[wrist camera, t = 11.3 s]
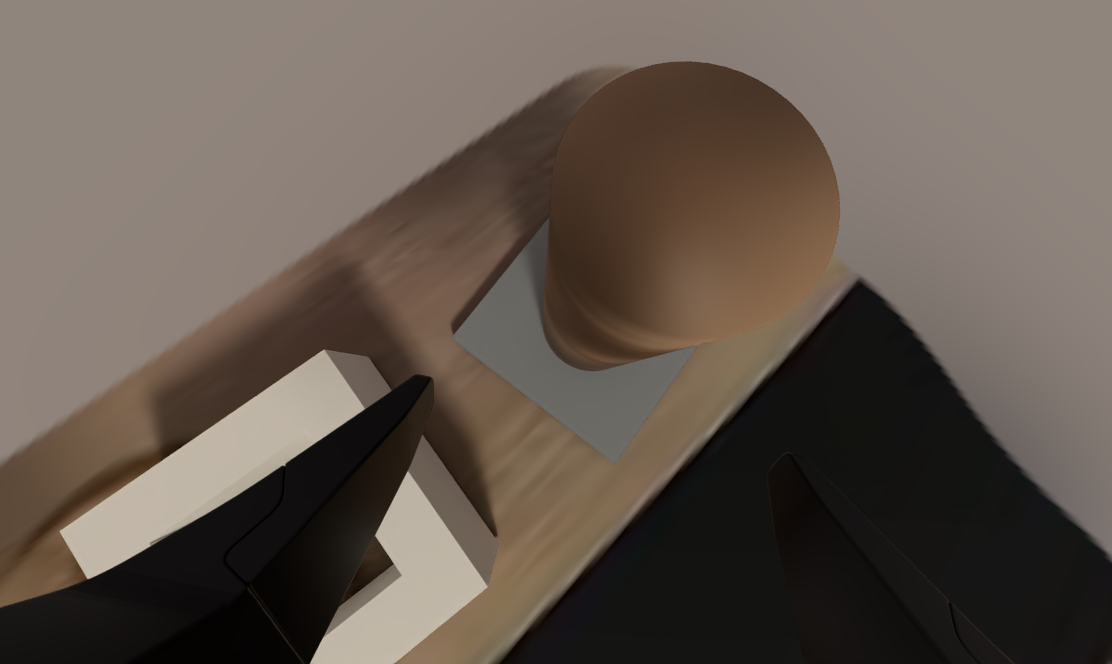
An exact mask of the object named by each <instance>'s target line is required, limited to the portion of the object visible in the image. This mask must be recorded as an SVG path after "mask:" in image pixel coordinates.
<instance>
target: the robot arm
mask: <svg viewBox="0 0 1112 664" xmlns="http://www.w3.org/2000/svg"><path fill="white" fill-rule="evenodd" d="M433 402H434V382H433V378H431V377H429V376H424V375H419V374H417V375H414V376H413V377H411V378H410V379H408V380H407V381H405V382H404V383H402V384H401V385H399V386H398V387H397V388H395V389H394V390H392V391H391V392H389V393H388V394H386V395H385V396H383V397H382V398H380V399H379V400H377V401H376V402H375V403H373V404H372V405H370V406H369V407H367V408H366V409H364V410H363V411H361V412H360V413H358V414H357V415H355V416H354V417H353V418H351V419H350V420H348V421H347V422H345V423H344V424H342V425H341V426H339V427H338V428H336V429H335V430H333V431H332V432H331V433H329V434H328V435H326V436H325V437H323V438H322V439H320V440H319V441H317V442H316V443H314V444H313V445H312V446H310V447H309V448H307V449H306V450H304V451H303V452H301V453H300V454H298V455H297V456H295V457H294V458H292V459H291V460H290V461H288V462H287V463H286V464H285V466H280V467H279V468H278V469H276V470H275V471H273V472H272V473H270V474H269V475H267V476H266V477H264V478H263V479H261V480H260V481H258V482H257V483H255V484H254V485H252V486H251V487H249V488H247V489H246V490H244V491H243V492H241V493H240V494H238V495H237V496H235V497H233V498H232V499H230V500H228V501H227V502H225V503H223V504H222V505H220V506H218V507H217V508H215V509H213V510H212V511H210V512H208V513H207V514H205V515H203V516H202V517H200V518H198V519H196V520H195V521H193V522H191V523H189V524H188V525H186V526H184V527H183V528H181V529H179V530H177V531H176V532H174V533H172V534H170V535H169V536H167V537H165V538H164V539H162V540H160V541H158V542H157V543H155V544H153V545H151V546H150V547H148V548H146V549H145V550H143V551H141V552H139V553H138V554H136V555H134V556H132V557H131V558H129V559H127V560H125V561H124V562H122V563H120V564H118V565H116V566H114V567H113V568H111V569H109V570H107V571H105V572H102V573H100V574H98V575H96V576H94V577H92V578H89V579H87V580H85V581H82V582H80V583H78V584H75V585H72V586H70V587H67V588H64V589H61V590H58V591H55V592H51V593H48V594H45V595H41V596H38V597H35V598H31V599H28V600H24V601H21V602H18V603H14V604H11V605H7V606H4V607H1V608H0V664H310V663H311V661H312V659H313V657H314V655H315V653H316V651H317V649H318V647H319V645H320V643H321V641H322V639H323V637H324V635H325V633H326V631H327V629H328V627H329V625H330V623H331V621H332V619H333V617H334V615H335V613H336V612H337V610H338V608H339V606H340V604H341V602H342V600H343V598H344V596H345V594H346V592H347V590H348V588H349V586H350V584H351V582H352V580H353V578H354V576H355V574H356V572H357V570H358V568H359V566H360V564H361V562H362V560H363V558H364V556H365V554H366V552H367V551H368V549H369V547H370V545H371V543H372V541H373V539H374V537H375V535H376V533H377V531H378V529H379V527H380V525H381V523H382V521H383V519H384V517H385V515H386V513H387V511H388V509H389V507H390V505H391V503H392V501H393V499H394V497H395V495H396V493H397V491H398V490H399V488H400V486H401V484H402V482H403V480H404V478H405V476H406V474H407V472H408V470H409V468H410V465H411V463H412V461H413V458H414V456H415V453H416V450H417V448H418V445H419V442H420V440H421V437H422V434H423V431H424V429H425V426H426V423H427V421H428V418H429V415H430V413H431V410H432V407H433ZM767 483H768V490H769V498H770V505H771V513H772V520H773V528H774V534H775V540H776V545H777V549H778V553H779V558H780V562H781V566H782V570H783V574H784V579H785V583H786V587H787V591H788V595H789V600H790V604H791V608H792V612H793V616H794V620H795V625H796V629H797V633H798V637H799V641H800V646H801V650H802V654H803V658H804V662H805V664H1014V663H1013V662H1012V661H1011V660H1010V659H1009V658H1008V657H1006V656H1005V655H1004V654H1003V653H1002V652H1001V651H1000V650H999V649H998V648H997V647H996V646H995V645H994V644H993V643H992V642H991V641H990V640H989V639H988V638H987V637H986V636H985V635H984V634H983V633H982V632H980V631H979V630H978V629H977V628H976V627H975V626H974V625H973V624H972V623H971V622H970V621H969V620H968V619H967V618H966V617H965V616H964V615H963V614H962V613H961V612H960V611H959V610H958V609H957V608H956V607H955V606H954V605H953V604H952V603H951V602H948V599H947V598H946V597H945V596H944V595H943V594H942V593H941V592H940V591H939V590H938V589H937V588H936V587H935V586H934V585H933V584H932V583H931V582H930V581H929V580H928V579H927V578H926V577H925V576H924V575H923V574H922V573H921V572H920V571H919V570H918V569H917V568H916V567H915V566H914V565H913V564H912V563H911V562H910V561H909V560H908V559H907V558H906V557H905V556H904V555H903V554H902V553H901V552H900V551H899V550H898V549H897V548H896V547H895V546H894V545H893V544H892V543H891V542H890V541H889V540H888V539H887V538H886V537H885V536H884V535H883V534H882V533H881V532H880V531H879V530H878V529H877V528H876V527H875V526H874V525H873V524H872V523H871V522H870V521H869V520H868V519H867V518H866V517H865V516H864V515H863V514H862V513H861V512H860V511H859V510H858V509H857V508H856V507H855V506H854V505H853V504H852V503H851V502H850V501H849V500H848V499H847V498H846V497H845V496H844V495H843V494H842V493H841V492H840V491H839V490H838V489H837V488H836V487H835V486H834V485H833V484H832V483H831V482H830V481H829V480H828V479H827V478H826V477H825V476H824V475H823V474H822V473H821V472H820V471H819V470H818V469H817V468H816V467H815V466H814V465H813V464H812V463H811V462H810V461H809V460H808V459H807V458H805V457H804V456H802V455H799V454H794V453H790V452H786V453H784V454H782V455H781V457H780V458H779V459H778V460H777V461H776V462H775V463H774V465H773V466H772V467H771V468H770V469H769V471H768V474H767Z"/></svg>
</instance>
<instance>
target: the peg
mask: <svg viewBox="0 0 1112 664" xmlns="http://www.w3.org/2000/svg"><path fill="white" fill-rule="evenodd" d="M839 218H840V202H839V191H838V186H837V180H836V176H835V173H834V169H833V166H832V163H831V160H830V158H829V156H828V154H827V151H826V149H825V147H824V145H823V143H822V141H821V140H820V138H819V137H818V135H817V133H816V132H815V130H814V129H813V127H812V126H811V125H810V123H809V122H808V121H807V120H806V119H805V117H804V116H803V115H802V114H801V113H800V112H799V111H798V110H797V109H796V108H795V107H794V106H793V105H792V104H791V103H790V102H789V101H788V100H787V99H786V98H784V97H783V96H782V95H780V94H779V93H778V92H777V91H775V90H774V89H772V88H771V87H769V86H767V85H766V84H764V83H762V82H761V81H759V80H757V79H755V78H753V77H751V76H749V75H746V74H744V73H742V72H739V71H736V70H733V69H730V68H727V67H723V66H718V65H714V64H709V63H700V62H668V63H662V64H655V65H651V66H647V67H644V68H640V69H637V70H635V71H632V72H630V73H627V74H625V75H623V76H621V77H619V78H617V79H616V80H614V81H612V82H610V83H609V84H607V85H606V86H604V87H603V88H602V89H600V90H599V91H598V92H597V93H595V94H594V95H593V96H592V97H591V98H590V99H589V100H588V101H587V102H586V103H585V104H584V105H583V106H582V107H581V108H580V110H579V111H578V112H577V114H576V115H575V116H574V118H573V119H572V121H571V122H570V124H569V126H568V127H567V129H566V131H565V133H564V135H563V137H562V139H561V142H560V145H559V148H558V150H557V153H556V157H555V162H554V167H553V172H552V186H551V201H550V215H549V230H548V244H547V259H546V273H545V288H544V302H543V317H542V325H543V332H544V335H545V338H546V341H547V343H548V345H549V347H550V348H551V350H552V351H553V352H554V353H555V355H556V356H557V357H558V358H560V359H561V360H562V361H563V362H565V363H566V364H568V365H570V366H572V367H574V368H577V369H580V370H585V371H601V370H606V369H610V368H614V367H617V366H621V365H625V364H629V363H632V362H636V361H640V360H644V359H647V358H651V357H655V356H659V355H662V354H666V353H670V352H674V351H677V350H681V349H685V348H689V347H692V346H696V345H700V344H704V343H707V342H711V341H715V340H719V339H722V338H726V337H730V336H734V335H737V334H741V333H745V332H748V331H751V330H754V329H756V328H759V327H762V326H764V325H766V324H768V323H770V322H772V321H774V320H776V319H778V318H780V317H781V316H783V315H784V314H785V313H787V312H788V311H790V310H791V309H792V308H794V307H795V306H796V305H797V304H798V303H799V302H800V301H801V300H802V299H804V298H805V297H806V296H807V295H808V294H809V292H810V291H811V290H812V288H813V287H814V286H815V285H816V283H817V282H818V281H819V279H820V278H821V276H822V274H823V272H824V270H825V269H826V267H827V265H828V263H829V260H830V258H831V255H832V253H833V250H834V247H835V243H836V238H837V234H838V230H839Z"/></svg>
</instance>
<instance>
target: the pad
mask: <svg viewBox="0 0 1112 664" xmlns="http://www.w3.org/2000/svg"><path fill="white" fill-rule="evenodd" d="M548 230H549V218H548V219H547V220H546V221H545V223H544V224H543V225H542V226H541V228H540V229H539V230H538V231H537V233H536V234H535V235H534V236H533V237H532V239H531V240H530V241H529V242H528V244H527V245H526V246H525V247H524V249H523V250H522V251H521V252H520V254H519V255H518V256H517V257H516V259H515V260H514V261H513V262H512V263H511V265H510V266H509V267H508V268H507V270H506V271H505V272H504V273H503V275H502V276H501V277H500V278H499V280H498V281H497V282H496V283H495V285H494V286H493V287H492V288H491V289H490V291H489V292H488V293H487V294H486V296H485V297H484V298H483V299H482V301H481V302H480V303H479V304H478V306H477V307H476V308H475V309H474V311H473V312H472V313H471V314H470V315H469V317H468V318H467V319H466V320H465V322H464V323H463V324H462V325H461V327H460V328H459V329H458V330H457V332H456V333H455V334H454V335H453V336H452V338H451V339H452V340H454V341H455V342H456V343H458V344H459V345H460V346H462V347H463V348H464V349H466V350H467V351H468V352H469V353H471V354H472V355H473V356H475V357H476V358H477V359H479V360H480V361H481V362H482V363H484V364H485V365H486V366H488V367H489V368H490V369H492V370H493V371H494V372H495V373H497V374H498V375H499V376H501V377H502V378H503V379H505V380H506V381H507V382H509V383H510V384H511V385H512V386H514V387H515V388H516V389H518V390H519V391H520V392H522V393H523V394H524V395H525V396H527V397H528V398H529V399H531V400H532V401H533V402H535V403H536V404H537V405H538V406H540V407H541V408H542V409H544V410H545V411H546V412H548V413H549V414H550V415H552V416H553V417H554V418H555V419H557V420H558V421H559V422H561V423H562V424H563V425H565V426H566V427H567V428H568V429H570V430H571V431H572V432H574V433H575V434H576V435H578V436H579V437H580V438H581V439H583V440H584V441H585V442H587V443H588V444H589V445H591V446H592V447H593V448H595V449H596V450H597V451H598V452H600V453H601V454H602V455H604V456H605V457H606V458H608V459H609V460H610V461H611V462H613V463H614V464H616V463H617V461H618V460H619V458H620V457H621V455H622V454H623V452H624V451H625V450H626V448H627V447H628V445H629V444H630V442H631V441H632V440H633V438H634V437H635V435H636V434H637V432H638V431H639V430H640V428H641V427H642V425H643V424H644V422H645V421H646V420H647V418H648V417H649V415H650V414H651V412H652V411H653V409H654V408H655V407H656V405H657V404H658V402H659V401H660V399H661V398H662V397H663V395H664V394H665V392H666V391H667V389H668V388H669V387H670V385H671V384H672V382H673V381H674V379H675V378H676V377H677V375H678V374H679V372H680V371H681V369H682V368H683V367H684V365H685V364H686V362H687V361H688V359H689V358H690V356H691V355H692V354H693V352H694V351H695V349H696V348H697V346H698V345H696V346H692V347H689V348H685V349H681V350H677V351H674V352H670V353H666V354H662V355H659V356H655V357H651V358H647V359H644V360H640V361H636V362H632V363H629V364H625V365H621V366H617V367H614V368H610V369H606V370H601V371H585V370H580V369H577V368H574V367H572V366H570V365H568V364H566V363H565V362H563V361H562V360H561V359H560V358H558V357H557V356H556V355H555V353H554V352H553V351H552V350H551V348H550V347H549V345H548V343H547V341H546V338H545V335H544V332H543V325H542V317H543V302H544V288H545V273H546V259H547V244H548Z"/></svg>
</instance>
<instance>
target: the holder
mask: <svg viewBox="0 0 1112 664" xmlns="http://www.w3.org/2000/svg"><path fill="white" fill-rule="evenodd" d="M391 391H392V390H391V389H390V387H389V386H388V384H387V383H386V382H385V380H384V379H383V377H382V376H381V374H380V373H379V372H378V370H377V369H376V367H375V366H374V365H373V363H372V362H371V360H370V359H369V357H366V356H360V355H354V354H348V353H342V352H336V351H330V350H323V351H321V352H320V353H318V354H317V355H315V356H314V357H312V358H311V359H309V360H308V361H307V362H305V363H304V364H302V365H301V366H299V367H298V368H296V369H295V370H293V371H292V372H291V373H289V374H288V375H286V376H285V377H283V378H282V379H280V380H279V381H277V382H276V383H275V384H273V385H272V386H270V387H269V388H267V389H266V390H264V391H263V392H261V393H260V394H259V395H257V396H256V397H254V398H253V399H251V400H250V401H248V402H247V403H245V404H244V405H243V406H241V407H240V408H238V409H237V410H235V411H234V412H232V413H231V414H229V415H228V416H227V417H225V418H224V419H222V420H221V421H219V422H218V423H216V424H215V425H213V426H212V427H211V428H209V429H208V430H206V431H205V432H203V433H202V434H200V435H199V436H197V437H196V438H195V439H193V440H192V441H190V442H189V443H187V444H186V445H184V446H183V447H181V448H180V449H178V450H177V451H176V452H174V453H173V454H171V455H170V456H168V457H167V458H165V459H164V460H162V461H161V462H160V463H158V464H157V465H155V466H154V467H152V468H151V469H149V470H148V471H146V472H145V473H144V474H142V475H141V476H139V477H138V478H136V479H135V480H133V481H132V482H130V483H129V484H128V485H126V486H125V487H123V488H122V489H120V490H119V491H117V492H116V493H114V494H113V495H112V496H110V497H109V498H107V499H106V500H104V501H103V502H101V503H100V504H98V505H97V506H96V507H94V508H93V509H91V510H90V511H88V512H87V513H85V514H84V515H82V516H81V517H80V518H78V519H77V520H75V521H74V522H72V523H71V524H69V525H68V526H66V527H65V528H64V529H62V530H61V531H60V533H61V535H62V536H63V538H64V540H65V542H66V543H67V545H68V547H69V548H70V550H71V552H72V553H73V555H74V557H75V558H76V560H77V562H78V563H79V565H80V567H81V569H82V570H83V572H84V574H85V575H86V577H87V579H89V578H92V577H94V576H96V575H98V574H100V573H102V572H105V571H107V570H109V569H111V568H113V567H114V566H116V565H118V564H120V563H122V562H124V561H125V560H127V559H129V558H131V557H132V556H134V555H136V554H138V553H139V552H141V551H143V550H145V549H146V548H148V547H150V546H151V545H153V544H155V543H157V542H158V541H160V540H162V539H164V538H165V537H167V536H169V535H170V534H172V533H174V532H176V531H177V530H179V529H181V528H183V527H184V526H186V525H188V524H189V523H191V522H193V521H195V520H196V519H198V518H200V517H202V516H203V515H205V514H207V513H208V512H210V511H212V510H213V509H215V508H217V507H218V506H220V505H222V504H223V503H225V502H227V501H228V500H230V499H232V498H233V497H235V496H237V495H238V494H240V493H241V492H243V491H244V490H246V489H247V488H249V487H251V486H252V485H254V484H255V483H257V482H258V481H260V480H261V479H263V478H264V477H266V476H267V475H269V474H270V473H272V472H273V471H275V470H276V469H278V468H279V467H280V466H285V464H286V463H287V462H288V461H290V460H291V459H292V458H294V457H295V456H297V455H298V454H300V453H301V452H303V451H304V450H306V449H307V448H309V447H310V446H312V445H313V444H314V443H316V442H317V441H319V440H320V439H322V438H323V437H325V436H326V435H328V434H329V433H331V432H332V431H333V430H335V429H336V428H338V427H339V426H341V425H342V424H344V423H345V422H347V421H348V420H350V419H351V418H353V417H354V416H355V415H357V414H358V413H360V412H361V411H363V410H364V409H366V408H367V407H369V406H370V405H372V404H373V403H375V402H376V401H377V400H379V399H380V398H382V397H383V396H385V395H386V394H388V393H389V392H391ZM375 536H376V538H377V539H378V541H379V542H380V544H381V545H382V546H383V548H384V549H385V551H386V552H387V554H388V555H389V557H390V558H391V560H392V561H393V563H394V564H393V565H392V566H391V567H389V568H388V569H387V570H386V571H384V572H383V573H382V574H380V575H379V576H378V577H377V578H375V579H374V580H373V581H371V582H370V583H369V584H368V585H366V586H365V587H364V588H363V589H361V590H360V591H359V592H357V593H356V594H355V595H354V596H352V597H351V598H350V599H348V600H347V601H346V602H345V603H343V604H342V605H341V606H339V608H338V610H337V612H336V613H335V615H334V617H333V619H332V621H331V623H330V625H329V627H328V629H327V631H326V633H325V635H324V637H323V639H322V641H321V643H320V645H319V647H318V649H317V651H316V653H315V655H314V657H313V659H312V661H311V663H310V664H394V663H395V662H396V661H398V660H399V659H400V658H401V657H403V656H404V655H405V654H406V653H407V652H409V651H410V650H411V649H412V648H414V647H415V646H416V645H417V644H418V643H420V642H421V641H422V640H423V639H425V638H426V637H427V636H428V635H430V634H431V633H432V632H433V631H434V630H436V629H437V628H438V627H439V626H441V625H442V624H443V623H444V622H445V621H447V620H448V619H449V618H450V617H452V616H453V615H454V614H455V613H457V612H458V611H459V610H460V609H461V608H463V607H464V606H465V605H466V604H468V603H469V602H470V601H471V600H472V599H474V598H475V597H476V596H477V595H479V594H480V593H481V592H482V591H484V590H485V589H486V588H487V587H488V585H489V581H490V577H491V573H492V569H493V565H494V561H495V557H496V553H497V549H498V545H499V543H498V541H497V540H496V539H495V537H494V536H493V534H492V533H491V531H490V530H489V529H488V527H487V526H486V524H485V523H484V521H483V520H482V519H481V517H480V516H479V514H478V513H477V511H476V510H475V509H474V507H473V506H472V504H471V503H470V501H469V500H468V499H467V497H466V496H465V494H464V493H463V491H462V490H461V489H460V487H459V486H458V484H457V483H456V482H455V480H454V479H453V477H452V476H451V474H450V473H449V472H448V470H447V469H446V467H445V466H444V464H443V463H442V462H441V460H440V459H439V457H438V456H437V454H436V453H435V452H434V450H433V449H432V447H431V446H430V444H429V443H428V442H427V440H426V439H425V437H424V436H423V434H422V437H421V440H420V442H419V445H418V448H417V450H416V453H415V456H414V458H413V461H412V463H411V465H410V468H409V470H408V472H407V474H406V476H405V478H404V480H403V482H402V484H401V486H400V488H399V490H398V491H397V493H396V495H395V497H394V499H393V501H392V503H391V505H390V507H389V509H388V511H387V513H386V515H385V517H384V519H383V521H382V523H381V525H380V527H379V529H378V531H377V533H376V535H375Z"/></svg>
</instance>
